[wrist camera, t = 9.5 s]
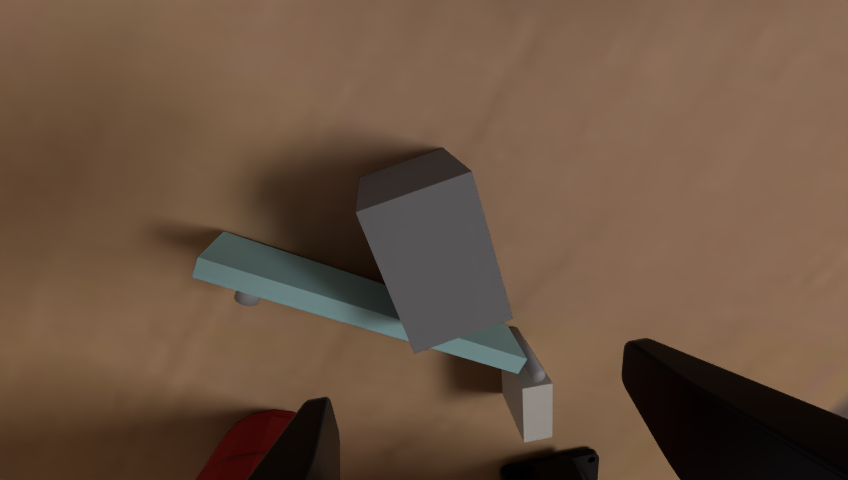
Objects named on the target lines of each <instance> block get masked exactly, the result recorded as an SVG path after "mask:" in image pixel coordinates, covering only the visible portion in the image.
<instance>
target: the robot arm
mask: <svg viewBox="0 0 848 480" xmlns="http://www.w3.org/2000/svg"><path fill="white" fill-rule="evenodd" d="M622 381H623V384H624V386H625V388H626V390H627V392H628V394H629V395H630V397H631V399H632V401H633V402H634V404H635V406H636V408H637V409H638V411H639V413H640V415H641V416H642V418H643V420H644V421H645V423H646V425H647V427H648V428H649V430H650V432H651V434H652V435H653V437H654V439H655V441H656V442H657V444H658V446H659V447H660V449H661V451H662V452H663V454H664V456H665V457H666V459H667V461H668V462H669V464H670V465H671V467H672V468H673V470H674V471H675V473H676V474H677V476H678V477H679V478H680V480H848V419H846V418H844V417H841V416H839V415H837V414H834V413H832V412H829V411H827V410H824V409H822V408H819V407H817V406H814V405H812V404H809V403H807V402H804V401H802V400H800V399H797V398H795V397H792V396H790V395H787V394H785V393H782V392H780V391H777V390H775V389H772V388H770V387H767V386H765V385H763V384H760V383H758V382H755V381H753V380H750V379H748V378H745V377H743V376H740V375H738V374H735V373H733V372H730V371H728V370H726V369H723V368H721V367H718V366H716V365H713V364H711V363H708V362H706V361H703V360H701V359H698V358H696V357H693V356H691V355H689V354H686V353H684V352H681V351H679V350H676V349H674V348H671V347H669V346H666V345H664V344H661V343H659V342H656V341H654V340H651V339H648V338H643V339H637V340H632V341H629V342H627V343H626V344H625V346H624V353H623V364H622ZM598 464H599V456H598V455H597V453H596V451H595V450H594V449H586V450H581V451H576V452H571V453H566V454H561V455H557V456H552V457H547V458H542V459H537V460H532V461H527V462H522V463H517V464H512V465H507V466H504V467H503V468H502V469H501V470H500V480H597V479H598ZM247 480H340V440H339V431H338V427H337V423H336V419H335V415H334V411H333V408H332V404H331V401H330V399H329V398H328V397H321V398H316V399H310V400H307V401H306V402H305V403H304V404H303V405H302V406H301V408H300V409H299V410H298V412H297V413H296V414H295V416H294V417H293V418H292V420H291V421H290V422H289V424H288V425H287V426H286V428H285V429H284V430H283V432H282V433H281V434H280V436H279V437H278V438H277V440H276V441H275V442H274V444H273V445H272V446H271V448H270V449H269V450H268V452H267V453H266V454H265V456H264V457H263V458H262V460H261V461H260V462H259V464H258V465H257V466H256V468H255V469H254V470H253V472H252V473H251V474H250V476H249V477H248V478H247Z"/></svg>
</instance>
